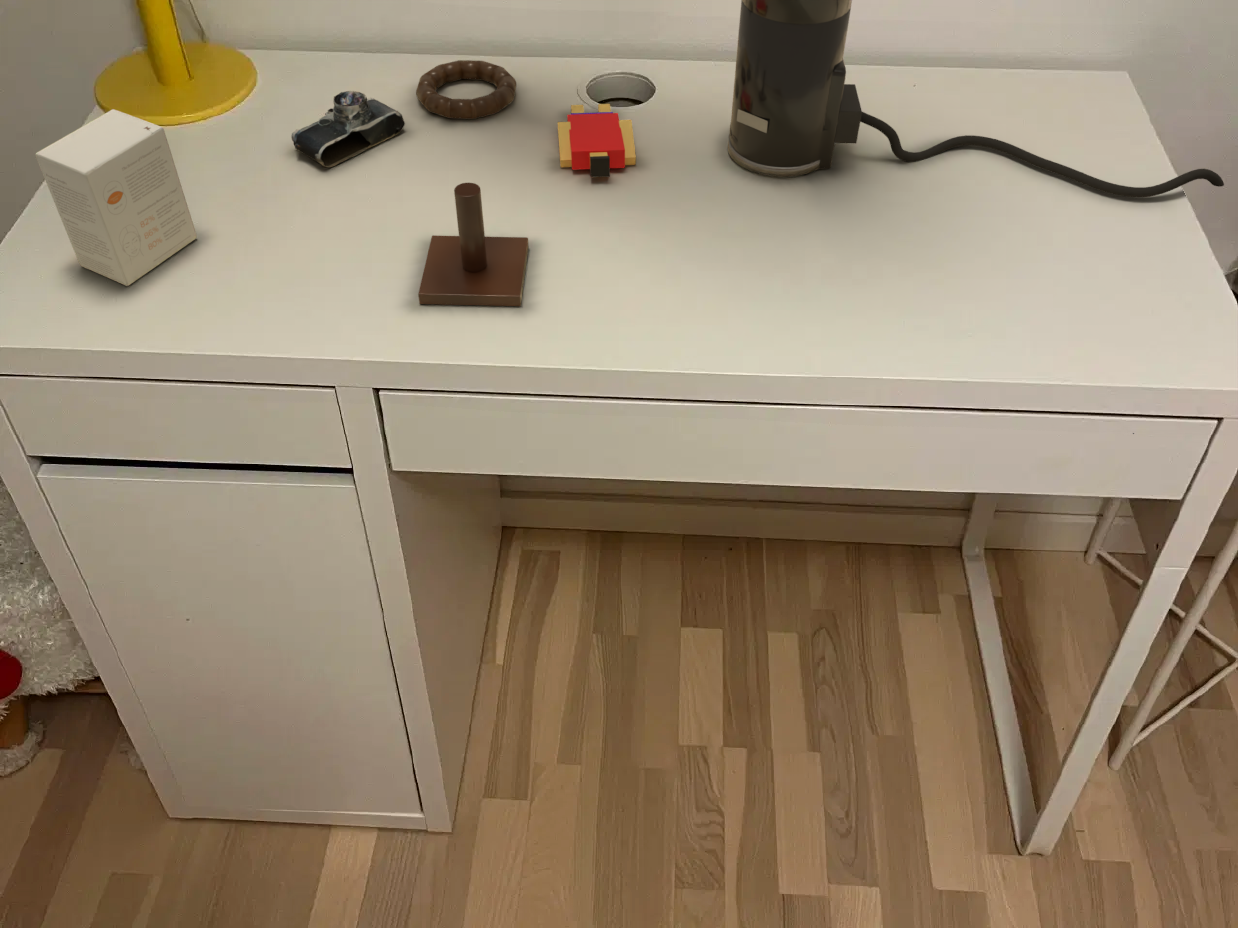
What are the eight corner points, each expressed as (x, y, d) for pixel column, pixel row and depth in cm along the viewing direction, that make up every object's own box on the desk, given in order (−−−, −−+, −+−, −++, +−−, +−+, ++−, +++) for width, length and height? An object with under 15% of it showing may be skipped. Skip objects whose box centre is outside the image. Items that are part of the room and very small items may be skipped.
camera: (286, 152, 106) (277, 110, 103) (375, 112, 111) (369, 71, 108) (320, 172, 103) (312, 130, 100) (409, 130, 109) (403, 89, 106)
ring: (519, 75, 117) (518, 58, 115) (511, 123, 110) (510, 106, 109) (425, 73, 117) (423, 56, 116) (411, 121, 110) (409, 103, 109)
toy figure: (555, 98, 110) (561, 157, 101) (626, 95, 110) (638, 154, 101) (556, 122, 111) (562, 183, 102) (626, 120, 112) (638, 180, 103)
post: (528, 247, 96) (523, 162, 90) (520, 306, 90) (515, 220, 85) (433, 245, 96) (422, 160, 90) (419, 304, 90) (406, 218, 85)
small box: (151, 219, 98) (114, 106, 91) (200, 239, 96) (165, 125, 89) (77, 267, 93) (31, 152, 86) (127, 289, 91) (83, 173, 84)
